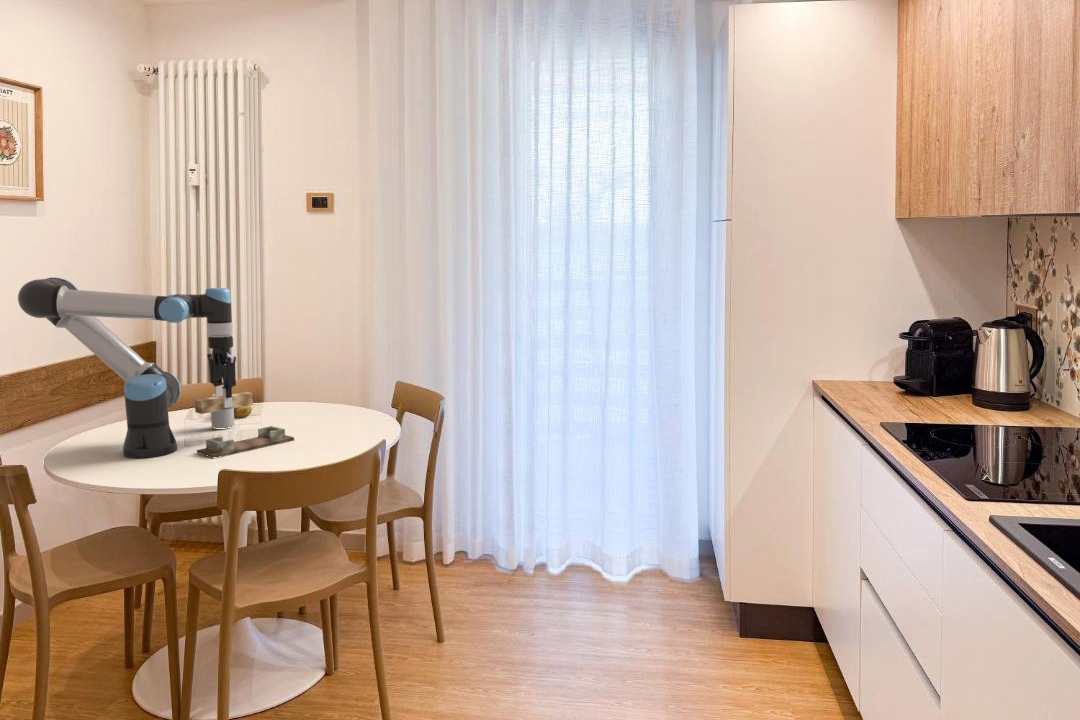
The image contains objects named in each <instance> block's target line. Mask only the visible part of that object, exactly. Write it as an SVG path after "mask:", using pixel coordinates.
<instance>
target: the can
mask: <svg viewBox="0 0 1080 720" xmlns="http://www.w3.org/2000/svg"><path fill="white" fill-rule="evenodd" d="M211 397H215V393H214V394H211ZM210 416H211V427H212V428H213V427H215V428H228V427H232V426H233V427H234V426H235V419H234V408H232V409H227V410H221V411H215V412H210ZM233 427H232V428H233Z"/></svg>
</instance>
